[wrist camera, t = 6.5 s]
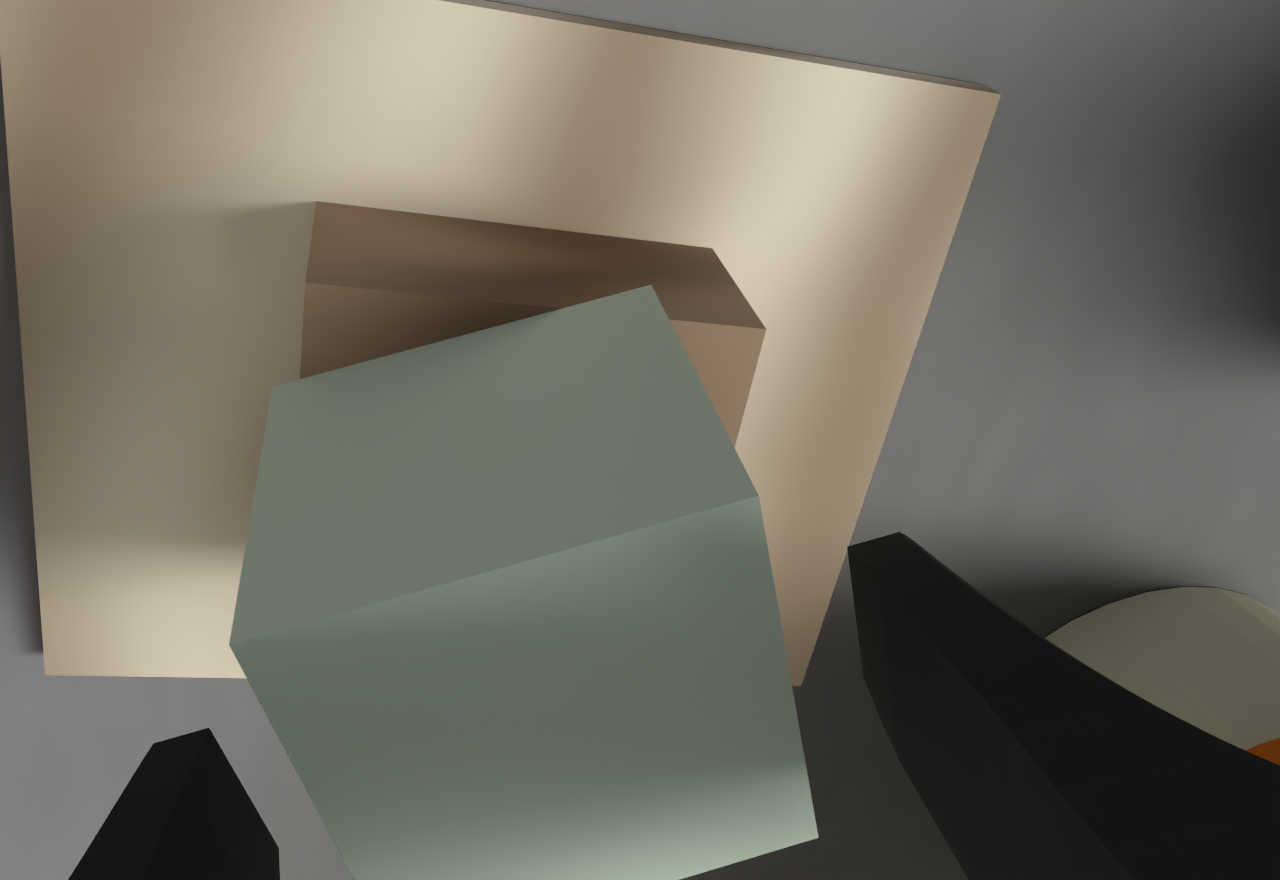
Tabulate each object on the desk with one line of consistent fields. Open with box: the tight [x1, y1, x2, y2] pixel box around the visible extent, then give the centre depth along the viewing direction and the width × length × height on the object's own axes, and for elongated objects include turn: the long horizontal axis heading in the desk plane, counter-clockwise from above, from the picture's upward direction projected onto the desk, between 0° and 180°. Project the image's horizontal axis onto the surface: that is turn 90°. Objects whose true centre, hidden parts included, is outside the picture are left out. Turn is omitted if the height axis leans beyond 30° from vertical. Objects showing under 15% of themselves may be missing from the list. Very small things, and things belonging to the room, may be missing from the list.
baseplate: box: [0, 0, 1001, 686], centre depth 18 cm, size 14×12×4 cm
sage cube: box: [229, 285, 819, 880], centre depth 14 cm, size 5×5×5 cm
